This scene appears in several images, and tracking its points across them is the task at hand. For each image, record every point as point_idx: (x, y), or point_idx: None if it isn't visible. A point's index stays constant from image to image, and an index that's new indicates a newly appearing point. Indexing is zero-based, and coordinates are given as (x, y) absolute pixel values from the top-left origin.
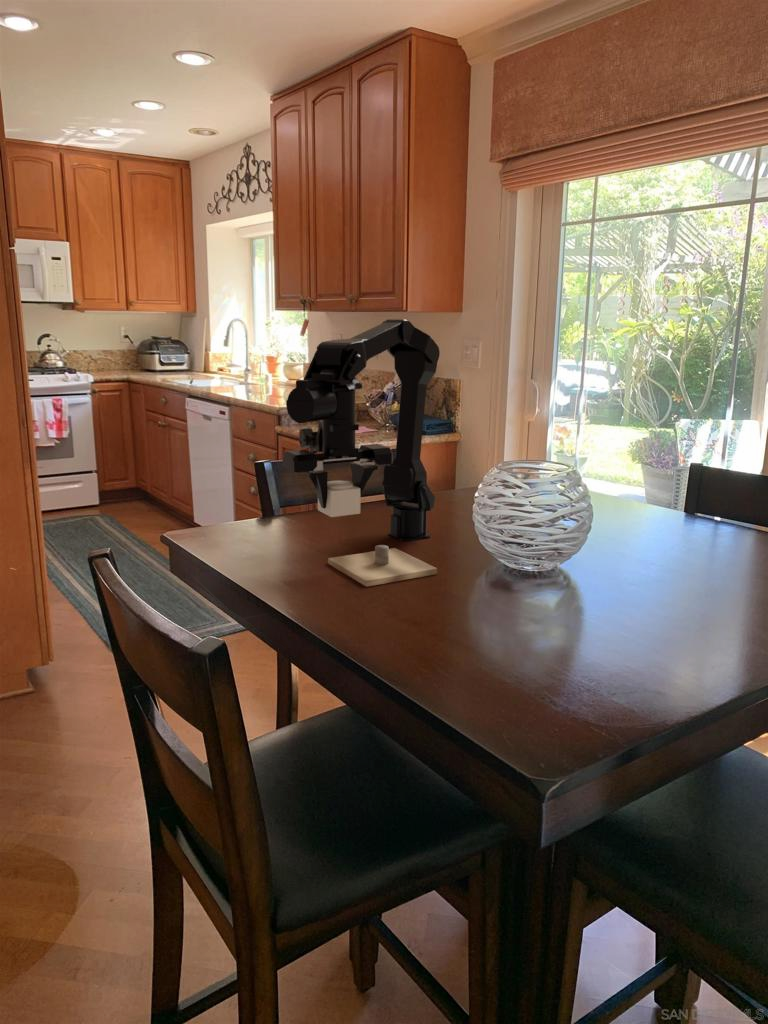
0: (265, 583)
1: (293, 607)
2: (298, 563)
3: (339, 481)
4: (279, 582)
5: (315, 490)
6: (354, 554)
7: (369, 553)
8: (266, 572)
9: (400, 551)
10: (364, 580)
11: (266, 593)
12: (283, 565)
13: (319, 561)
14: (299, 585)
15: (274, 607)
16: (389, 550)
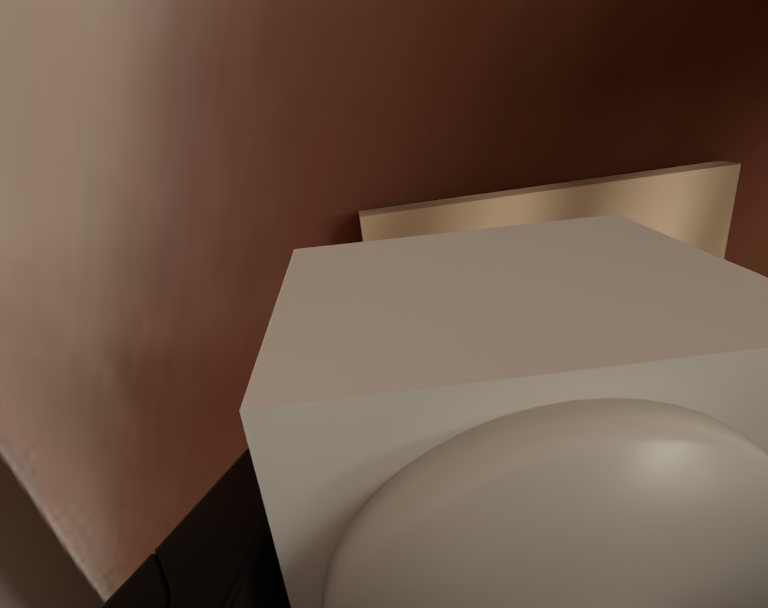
0: (39, 355)
1: (131, 564)
2: (222, 133)
3: (688, 541)
4: (100, 360)
5: (170, 545)
6: (506, 199)
7: (579, 210)
8: (43, 219)
9: (722, 231)
10: None
11: (43, 450)
12: (138, 138)
13: (335, 139)
14: (177, 410)
15: (70, 553)
16: (691, 195)
